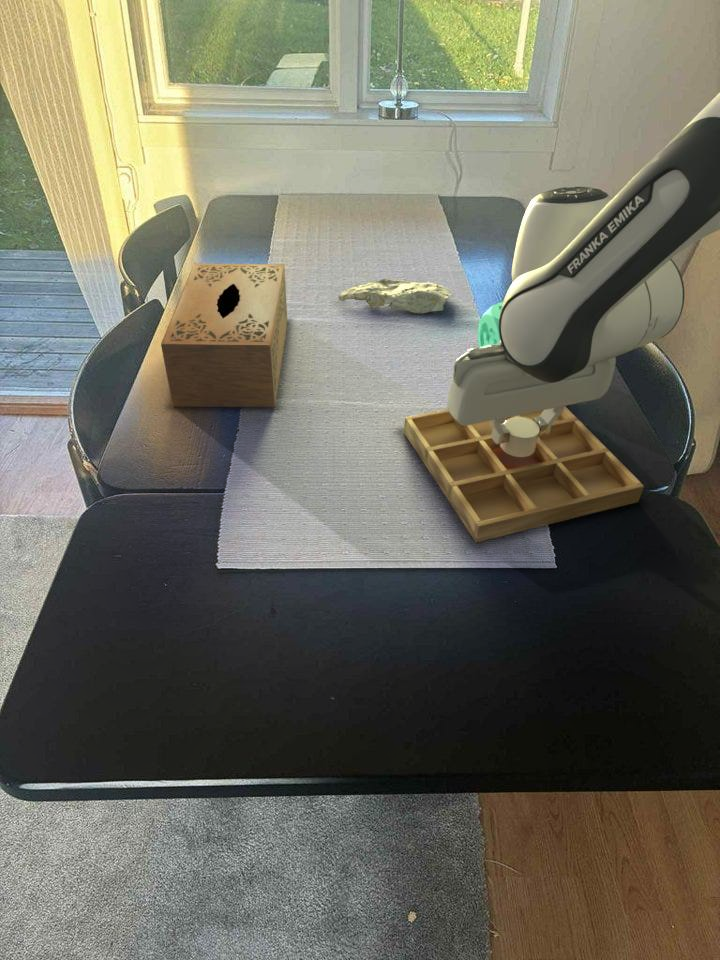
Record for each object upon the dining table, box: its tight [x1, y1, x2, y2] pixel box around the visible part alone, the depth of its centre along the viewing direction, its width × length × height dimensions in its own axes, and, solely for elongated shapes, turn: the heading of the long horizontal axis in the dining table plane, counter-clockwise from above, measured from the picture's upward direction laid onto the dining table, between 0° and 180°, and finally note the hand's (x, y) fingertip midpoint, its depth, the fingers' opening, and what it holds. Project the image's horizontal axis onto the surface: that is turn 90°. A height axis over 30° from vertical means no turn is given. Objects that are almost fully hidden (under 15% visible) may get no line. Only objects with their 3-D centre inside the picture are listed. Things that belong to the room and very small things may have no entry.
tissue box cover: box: [160, 262, 288, 408], centre depth 106 cm, size 26×14×10 cm, turn 1°
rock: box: [338, 278, 452, 314], centre depth 126 cm, size 19×11×2 cm, turn 75°
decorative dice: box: [477, 301, 503, 348], centre depth 108 cm, size 8×8×8 cm
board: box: [403, 406, 645, 543], centre depth 89 cm, size 22×22×3 cm
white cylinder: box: [500, 417, 540, 457], centre depth 87 cm, size 4×4×3 cm
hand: (520, 436), depth 87 cm, fingers closed on white cylinder, 4 cm apart
